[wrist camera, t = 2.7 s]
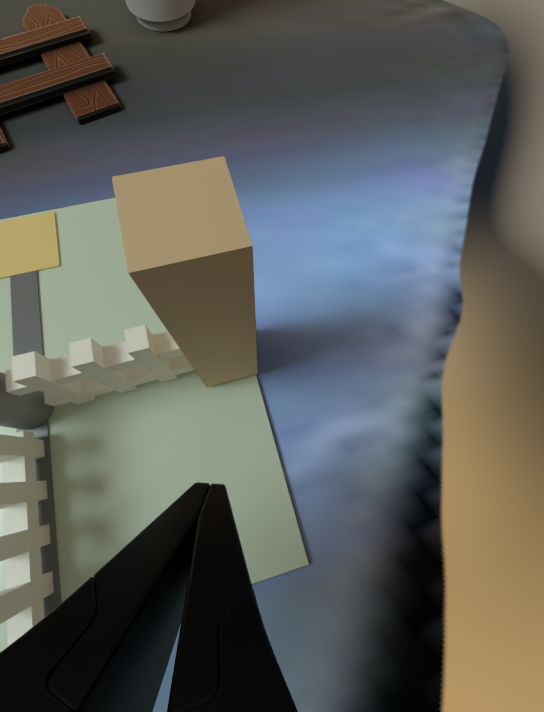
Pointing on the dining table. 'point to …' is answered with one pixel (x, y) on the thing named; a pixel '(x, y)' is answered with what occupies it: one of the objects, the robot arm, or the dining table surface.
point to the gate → (167, 291)
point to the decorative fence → (57, 68)
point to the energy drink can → (161, 13)
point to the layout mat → (127, 412)
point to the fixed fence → (22, 512)
